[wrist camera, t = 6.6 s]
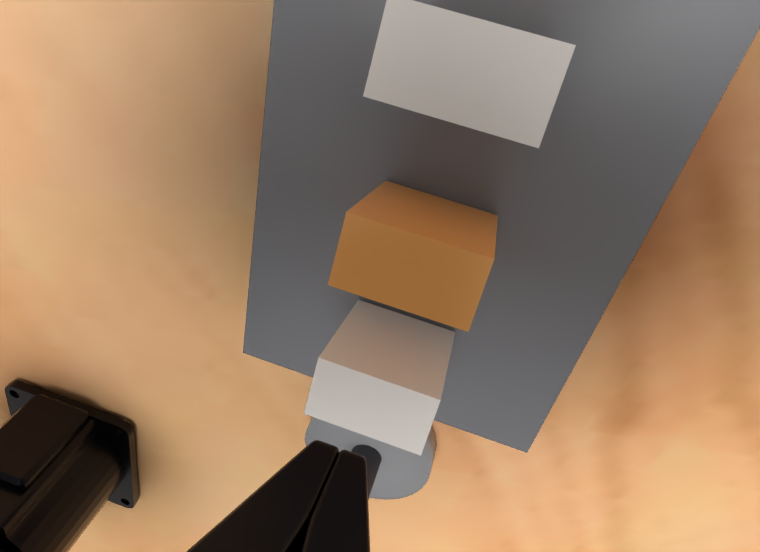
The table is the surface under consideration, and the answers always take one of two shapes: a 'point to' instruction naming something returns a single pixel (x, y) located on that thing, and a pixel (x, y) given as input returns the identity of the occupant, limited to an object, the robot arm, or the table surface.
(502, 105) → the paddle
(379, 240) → the orange rectangular block
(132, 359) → the table surface
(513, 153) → the panel
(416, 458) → the stand
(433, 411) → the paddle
